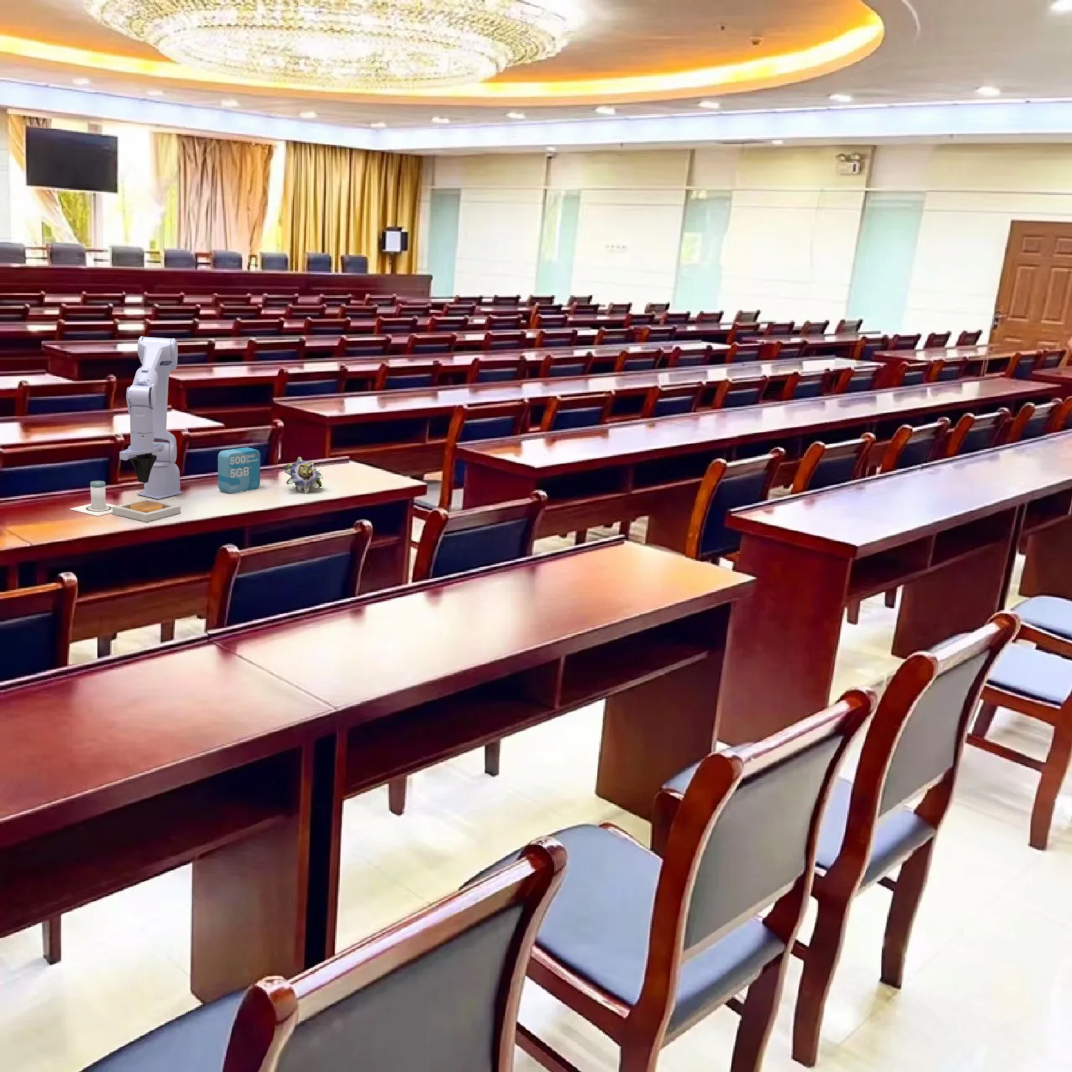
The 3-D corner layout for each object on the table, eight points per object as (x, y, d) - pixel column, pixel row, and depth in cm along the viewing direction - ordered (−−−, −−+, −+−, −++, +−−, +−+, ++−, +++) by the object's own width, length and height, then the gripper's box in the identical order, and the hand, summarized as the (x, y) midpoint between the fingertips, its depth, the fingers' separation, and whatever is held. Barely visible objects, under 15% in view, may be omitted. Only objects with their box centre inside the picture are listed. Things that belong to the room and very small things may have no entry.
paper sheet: (100, 502, 283) (100, 501, 283) (127, 508, 279) (127, 507, 279) (69, 509, 274) (69, 508, 274) (97, 516, 270) (97, 515, 270)
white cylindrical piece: (99, 505, 279) (98, 480, 277) (108, 507, 277) (108, 482, 275) (88, 507, 275) (87, 482, 274) (97, 510, 274) (97, 484, 272)
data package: (227, 494, 301) (227, 454, 298) (217, 491, 304) (217, 451, 301) (260, 488, 311) (260, 449, 308) (250, 485, 313) (250, 446, 310)
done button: (146, 505, 281) (146, 499, 280) (169, 511, 278) (169, 505, 277) (123, 511, 274) (123, 505, 273) (146, 517, 271) (146, 511, 270)
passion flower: (305, 510, 312) (288, 482, 303) (287, 495, 319) (270, 468, 310) (334, 487, 315) (319, 459, 307) (316, 473, 322) (300, 445, 314)
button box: (147, 505, 284) (146, 498, 283) (180, 513, 279) (180, 506, 278) (112, 514, 273) (112, 506, 272) (146, 522, 268) (146, 515, 268)
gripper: (149, 425, 278) (150, 474, 282) (109, 433, 265) (111, 484, 269) (170, 429, 276) (171, 478, 280) (131, 437, 263) (133, 489, 267)
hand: (143, 482), depth 274 cm, fingers closed
